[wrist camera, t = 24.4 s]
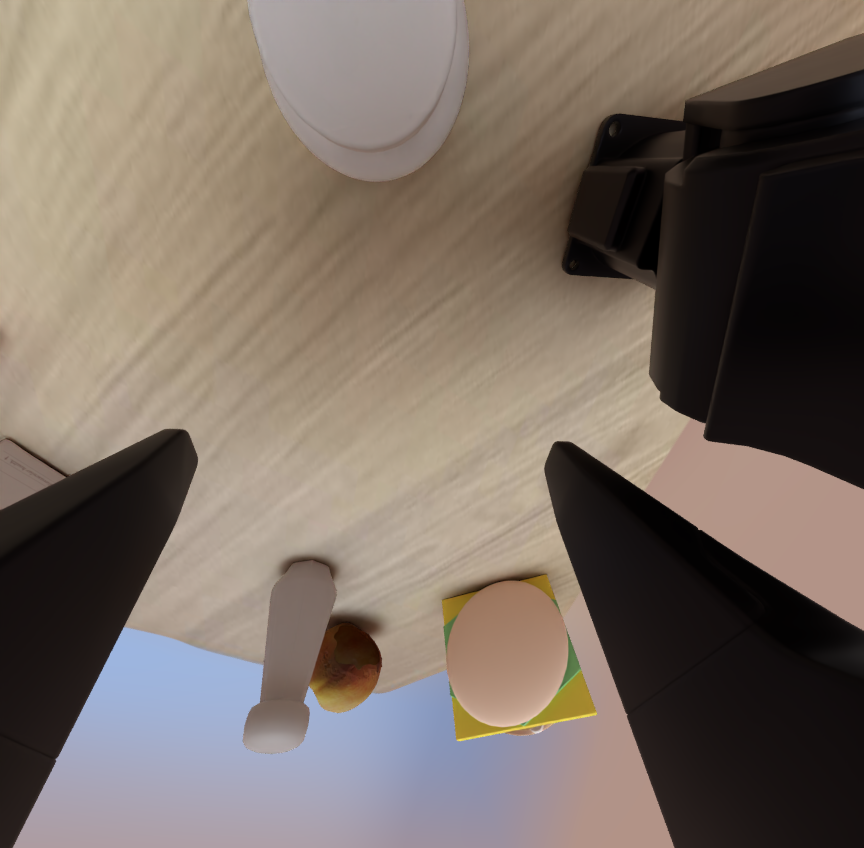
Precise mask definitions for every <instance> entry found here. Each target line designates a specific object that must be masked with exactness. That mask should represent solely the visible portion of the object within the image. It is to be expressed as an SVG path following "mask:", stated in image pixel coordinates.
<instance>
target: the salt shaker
mask: <svg viewBox="0 0 864 848" xmlns="http://www.w3.org/2000/svg"><path fill="white" fill-rule="evenodd" d="M336 596H337V590H336V587H335V585H334V582H333V580H332V577H331V574H330V570H329V566H326V565H324V564H321V563H319V562H316V561H314V560H309V561H302V562H295V563H293V564H292V565H291V567H290V568H289V569H288V571H287V572H286V573H285V574H284V575H283V576H282V577H281V578H280V579H279V581H278V582H277V583H276V584H275V585H274V587H273V589H272V592H271V598H270V608H269V618H268V628H267V638H266V648H265V658H264V668H263V678H262V688H261V698H260V703H259V704H257V705H256V706H254V707H252V709H251V710H250V712H249V714H248V717H247V720H246V723H245V727H244V734H243V743H244V745H245V746H246V748H248V749H250V750H252V751H254V752H258V753H265V754H266V753H267V754H274V753H282V752H287V751H290V750H292V749H294V748H297V747H298V746H299V745H300V744H301V743H302V742H303V740H304V737H305V734H306V731H307V727H308V723H309V714H310V712H309V708H308V707H307V706H306V705H305V704H304V699H305V696H306V693H307V690H308V686H309V683H310V680H311V677H312V674H313V670H314V667H315V664H316V661H317V657H318V654H319V651H320V648H321V644H322V641H323V638H324V635H325V631H326V628H327V625H328V622H329V618H330V615H331V612H332V609H333V605H334V602H335V599H336Z"/></svg>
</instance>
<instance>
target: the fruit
mask: <svg viewBox="0 0 864 848" xmlns="http://www.w3.org/2000/svg"><path fill="white" fill-rule="evenodd" d="M381 667H382V657H381V654H380V651H379V649H378V646H377V645H376V643H375V642H374V640H373V639H372V638H371V637H370V635H369V634H367V633H366V632H364V631H362V630H360V629H359V628H357V627H355V626H354V625H352V624H351V623H341V624H338V625H336V626H334V627H332V628H330V629H328V630H327V631H326V632H325V635H324V638H323V641H322V644H321V648H320V651H319V654H318V657H317V661H316V664H315V667H314V670H313V674H312V677H311V680H310V683H309V686H310V688H311V689H312V690H313V692H314V694H315V696H316V697H317V700H318V702H319V704H320V706H321V707H322V708H323V709H325V710H327V711H331V712H336V713H341V712H346V711H349V710H351V709H353V708H355V707H356V706H358V705H359V704H360V703H362V702H363V701H364V700H366V699H367V697H368V696H369V695H370V694H371V692H372V691H373V689H374V688H375V686H376V684H377V681H378V678H379V675H380V670H381Z"/></svg>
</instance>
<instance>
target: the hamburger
mask: <svg viewBox="0 0 864 848" xmlns="http://www.w3.org/2000/svg"><path fill="white" fill-rule="evenodd" d="M442 606H443V616H444V625H445V626H444V636H445V646H446V662H447V673H448V677H449V685H450V695H451V696H452V702H453V712H454V721H455V731H456V739H457V740H458V741H463V740H468V739H473V738H479V737H483V736H489V735H494V734H500V733H506V734H511V735H517V736H522V735H532V734H535V733H540V732H541V731H543V730H545V729H547V728H548V727H550V726H552V725H553V724H554V723H557V722H562V721H567V720H572V719H578V718H583V717H588V716H593V715H597V712H596V710H595V707H594V704H593V702H592V699H591V696H590V693H589V690H588V688H587V685H586V682H585V679H584V677H583V674H582V671H581V668H580V665H579V662H578V659H577V657H576V654H575V651H574V649H573V646H572V643H571V640H570V637H569V635H568V632H567V629H566V626H565V624H564V621H563V618H562V615H561V613H560V610H559V607H558V604H557V602H556V600H555V597H554V594H553V591H552V589H551V586H550V583H549V580H548V578H547V575H542V576H538V577H534V578H530V579H525V580H521V581H503V582H497V583H495V584H492V585H489V586H487V587H486V588H484V589H482V590H480V591H477V592H473V593H469V594H465V595H461V596H457V597H453V598H449V599H445V600H442Z"/></svg>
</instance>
